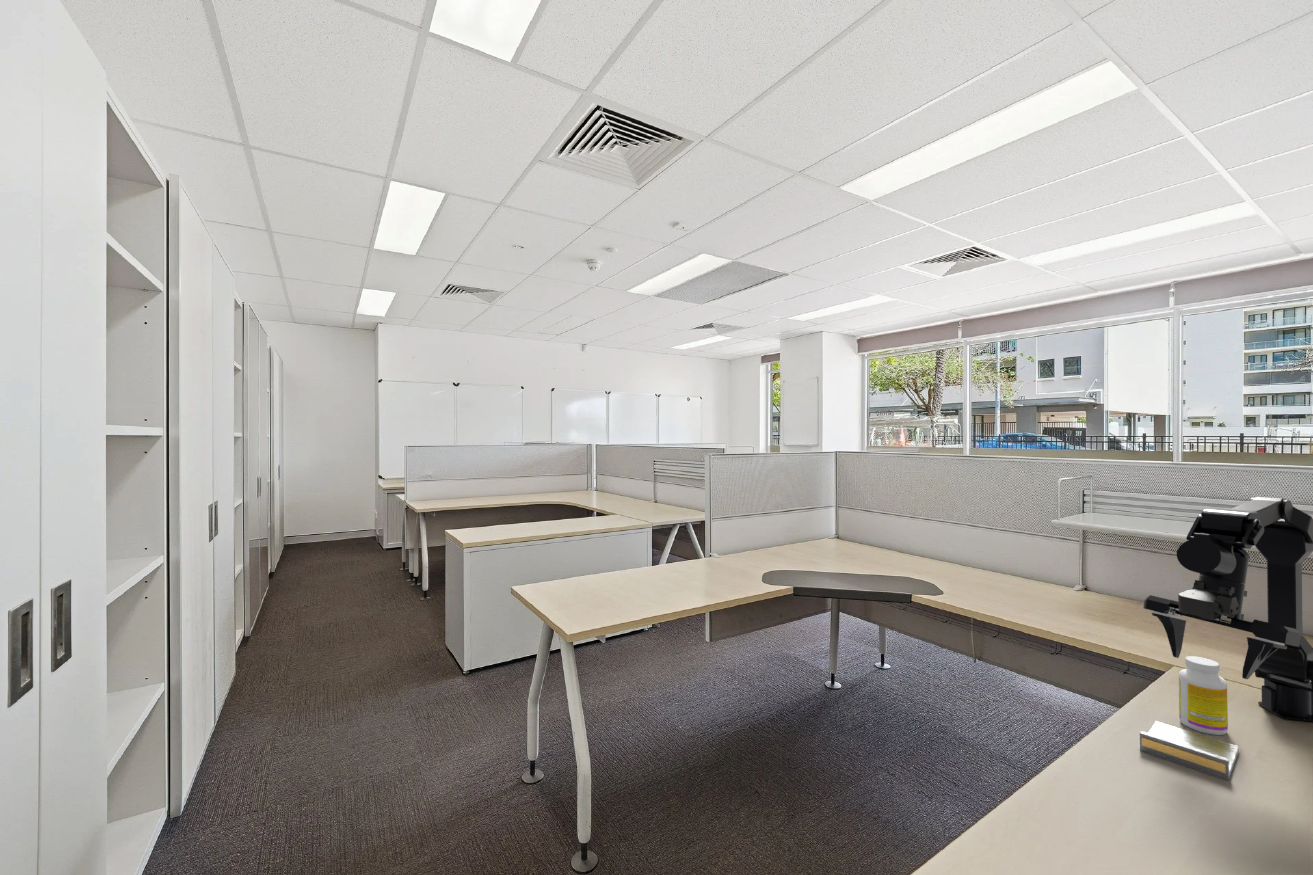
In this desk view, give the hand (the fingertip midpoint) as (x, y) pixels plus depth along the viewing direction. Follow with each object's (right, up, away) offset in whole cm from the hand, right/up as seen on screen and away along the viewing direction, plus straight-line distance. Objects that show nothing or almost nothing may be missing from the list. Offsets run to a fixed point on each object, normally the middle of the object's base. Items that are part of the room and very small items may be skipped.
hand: (1209, 667), depth 96 cm
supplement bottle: (+8, -16, +9) cm, 20 cm away
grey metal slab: (-2, -16, +2) cm, 16 cm away
